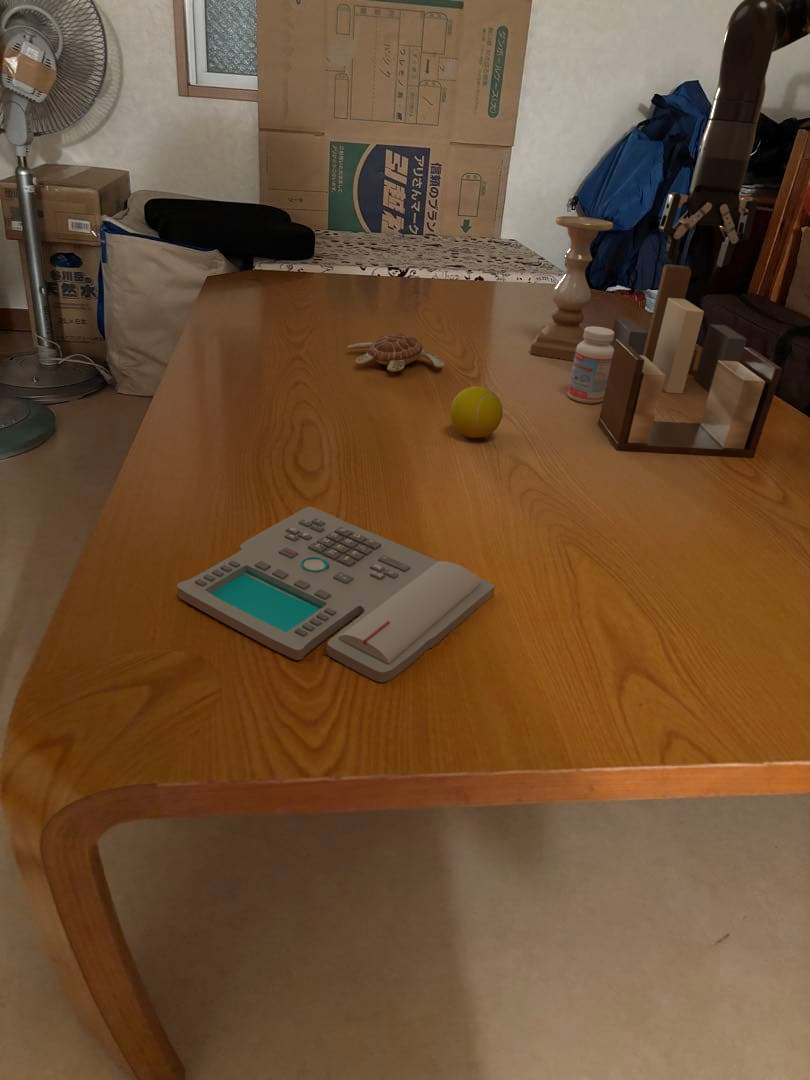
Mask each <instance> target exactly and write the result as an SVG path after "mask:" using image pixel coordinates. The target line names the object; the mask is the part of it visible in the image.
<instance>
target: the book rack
mask: <svg viewBox="0 0 810 1080" xmlns="http://www.w3.org/2000/svg"><path fill="white" fill-rule="evenodd" d="M782 372H783V368H782V367H780V366H779V365H778V364H776V363H774V362H773V361H771V360H770V359H768V358H767V357H765V356H764V355H762V353H760V352H757V351H756V350H755V349H753V347H746V346H745V347H744V350H743V353H742V356H741V360H740V363H739V362H737V361H721V360H719V361H718V364H717V367H716V371H715V374H714V378H713V381H712V385H711V388H710V392H709V391H708V392H709V393H708V396H707V400H706V403H705V406H704V410H703V414H702V417H701V421H700V423H695V422H675V421H661V420H659V421H658V420H655V418H656V414H657V410H658V406H659V402H660V400H661V399H660V398H661V395H662V391H663V389H662V387H663V383H664V379H665V374H663V373H662V372H661V371H660V370H659V369H658V368H657V367H656V366H655V365H654V364H653V363H652V362H651V361H650V360H649V359H648V358H646V357H645V356H643V355H639V354H638V353H637V352H636V351H634V350H633V349H632V348H631V347H630V346H629V345H628V344H627V343H626V342H625V341H624V340H623V339H616V343H615V348H614V352H613V357H612V362H611V366H610V371H609V376H608V380H607V385H606V390H605V394H604V399H603V401H602V404H601V407H600V413H599V418H598V423H597V424H598V426H599V427H600V429H601V430H602V433H604V435H605V436H606V438H607V439H608V440H609V442H610V443H611V444H612V446H613V448H614V449H615V450H616V451H621V452H638V453H639V452H640V453H658V454H661V453H662V454H675V455H676V454H678V455H679V454H680V455H697V456H713V457H730V458H731V457H732V458H753V459H754V457H755V454H756V451H757V448H758V445H759V442H760V440H761V436H762V433H763V430H764V428H765V424H766V421H767V419H768V414H769V412H770V408H771V405H772V402H773V399H774V396H775V393H776V391H777V387H778V384H779V381H780V378H781V375H782Z"/></svg>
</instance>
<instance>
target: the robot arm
mask: <svg viewBox="0 0 810 1080" xmlns="http://www.w3.org/2000/svg"><path fill="white" fill-rule="evenodd" d="M808 35H810V0H743V1H742V2H740V3H739V4H738V5H737V6H736V8H735V9H734V10H733V12H732V14H731V16H730V18H729V20H728V23H727V27H726V30H725V33H724V39H723V45H722V50H721V59H720V65H719V74H718V75H719V76H718V82H717V86H716V89H715V93H714V96H713V100H712V103H711V108H710V112H709V117H708V120H707V124H706V126H705V129H704V132H703V133H702V137H701V142H700V144H699V147H698V154H697V159H696V162H695V167H694V170H693V174H692V179H691V184H690V188H689V191H688V193H687V194H680V193H678V192H675V191H670V192H669V193H668V195H667V198H666V201H665V204H664V208H663V212H662V215H661V219H660V222H659V226H658V230H659V231H660V233H663V234H665V235H666V236H667V237H668V238H667V243H666V248H665V252H664V258H665V259H666V262H667V264H671V265H676V262H677V258H678V254H679V250H680V246H681V243H682V241H681V240H682V239H681V237H682V236H683V235H684V234H686V232H688V231H689V230H691V229H692V228H693V227H694V226H695V225H698V226H703V227H705V226H711V227H714V228H715V227H716V228H719V230H720V231H721V234H722V236H723V238H724V241H722V243H721V246H720V249H719V254H718V257H717V260H716V261H717V262H716V266H717V267H718V268H720V269H725V268H726V267H727V265H730V263H731V261H732V257H733V254H734V250H735V247H736V245H737V244H738V243H740V242H742V241H743V242H744V241H748V240H750V238H751V235H752V230H753V225H754V221H755V217H756V213H757V209H758V201H757V200H755V199H752V198H745V199H740V193H741V191H742V189H743V184H744V182H745V178H746V173H747V169H748V166H749V163H750V162H749V161H750V158H751V155H752V151H753V148H754V147H753V146H754V143H755V141H756V140H755V139H756V132H757V126H758V122H759V118H760V116H761V110H762V108H763V103H764V100H765V97H766V90H767V83H766V77H767V73H768V70H769V66H770V61H771V58H772V54H773V53H774V52H776V51H780V50H781V49H783V48H785V47H787V46H789V45H791V44H793V43H795V42H797V41H799V40H801V39H803V38H805V37H806V36H808ZM683 204H685V207H686V210H687V211H685V213H684V214H683V215H682V216H680V218H679V219H678V221H677V223H676V224H674V223H675V219H676V215H677V214H678V213H677V212H678V209H681V208H682V207H683ZM736 210H738V213H739V214H740V216H739V221H738V225H737V229H736V226H735V223H734V221H733V217H732V214H734V213H735V212H736Z"/></svg>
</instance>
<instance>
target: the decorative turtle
mask: <svg viewBox="0 0 810 1080" xmlns="http://www.w3.org/2000/svg"><path fill="white" fill-rule="evenodd" d="M423 347H424V346H423V344H422V343H421V342H419V339H418V338H416V336H415V337H414V336H410V335H408V334H404V333H401V332H398V333H397V332H396V333H395V332H394V333H389V334H384V335H382V336H380V337H379V338H378V339H376V340H374V341H365V342H359V343H354V344H349V345H348V346H346V348H347V349H348V350H351V351H352V350H361V349H367V350H366V353H364V354H362V355H359V356H358V357H357V358H356V359H355V364H357V365H359V366H360V365H363V364H367V363H368V362H370V361H375V362H377V363H379V364H380V365H385V366H387V368H386V369H387V371H388V372H391V373H394V372H400V371H402V370H404V368H405V367H406V365H408V364H411V363H412V362H415V361H417V360H418V359H419V358H421V357H423V358H425V359H427V360H428V361H430V363H432V364H433V366H434V368H435V369H440V368H443V367H444V366H445V361H444V360H443V359H442V357H441V356H439V355H437V354H434V353H433V352H431V351H428V350H426V349H424V348H423Z"/></svg>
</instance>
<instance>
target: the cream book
mask: <svg viewBox="0 0 810 1080" xmlns="http://www.w3.org/2000/svg"><path fill="white" fill-rule="evenodd" d="M704 314H705V311H704V310H703V309H701V308H700V307H698V306H696V305H695V304H694V303H692V302H691V301H689V300H687V299H686V298H685V299H678V298H668V301H667V305H666V309H665V313H664V317H663V321H662V326H661V330H660V334H659V338H658V342H657V346H656V351H655V355H654V359H653V364H654V365H655V366H656V367H657V368H658V369H659V370H660V371H661V372H662V373H663V374H665V379H664V383H663V387H662V391H663V392H664V393H667V394H669V393H670V394H683V393H684V390H685V386H686V381H687V379H688V375H689V373H688V371H689V367H690V363H691V360H692V356H693V352H694V348H695V345H696V344H697V340H698V337H699V332H700V329H701V326H702V321H703V317H704ZM696 346H697V345H696Z"/></svg>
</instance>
